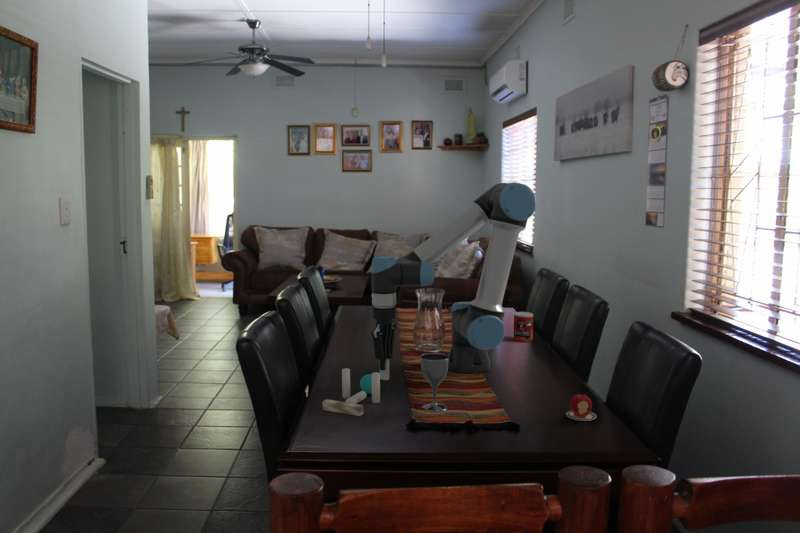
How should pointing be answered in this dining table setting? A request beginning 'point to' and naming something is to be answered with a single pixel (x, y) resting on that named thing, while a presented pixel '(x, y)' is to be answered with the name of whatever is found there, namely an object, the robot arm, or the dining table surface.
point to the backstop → (343, 407)
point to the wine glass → (434, 376)
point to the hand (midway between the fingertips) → (384, 379)
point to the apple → (581, 408)
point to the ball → (366, 383)
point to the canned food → (523, 326)
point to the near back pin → (375, 387)
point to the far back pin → (346, 383)
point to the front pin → (357, 397)
